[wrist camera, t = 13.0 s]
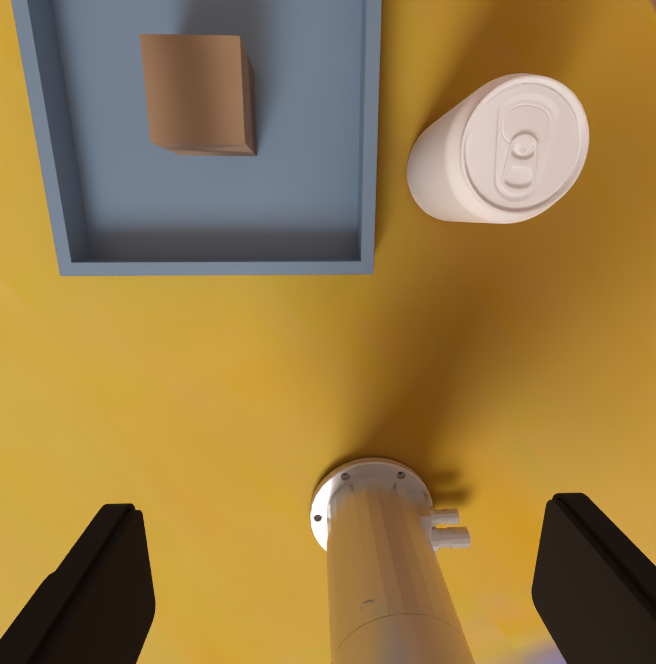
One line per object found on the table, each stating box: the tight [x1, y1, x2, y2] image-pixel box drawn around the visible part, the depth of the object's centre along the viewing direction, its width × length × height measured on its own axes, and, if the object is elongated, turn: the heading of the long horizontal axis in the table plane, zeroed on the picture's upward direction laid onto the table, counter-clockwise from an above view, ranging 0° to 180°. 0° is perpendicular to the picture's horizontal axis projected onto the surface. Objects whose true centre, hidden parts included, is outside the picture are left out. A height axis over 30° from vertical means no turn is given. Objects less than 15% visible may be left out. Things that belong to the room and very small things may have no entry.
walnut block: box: [139, 34, 257, 156], centre depth 28 cm, size 6×6×6 cm
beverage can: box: [407, 73, 589, 224], centre depth 28 cm, size 8×8×12 cm
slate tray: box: [11, 0, 382, 276], centre depth 30 cm, size 24×24×4 cm
